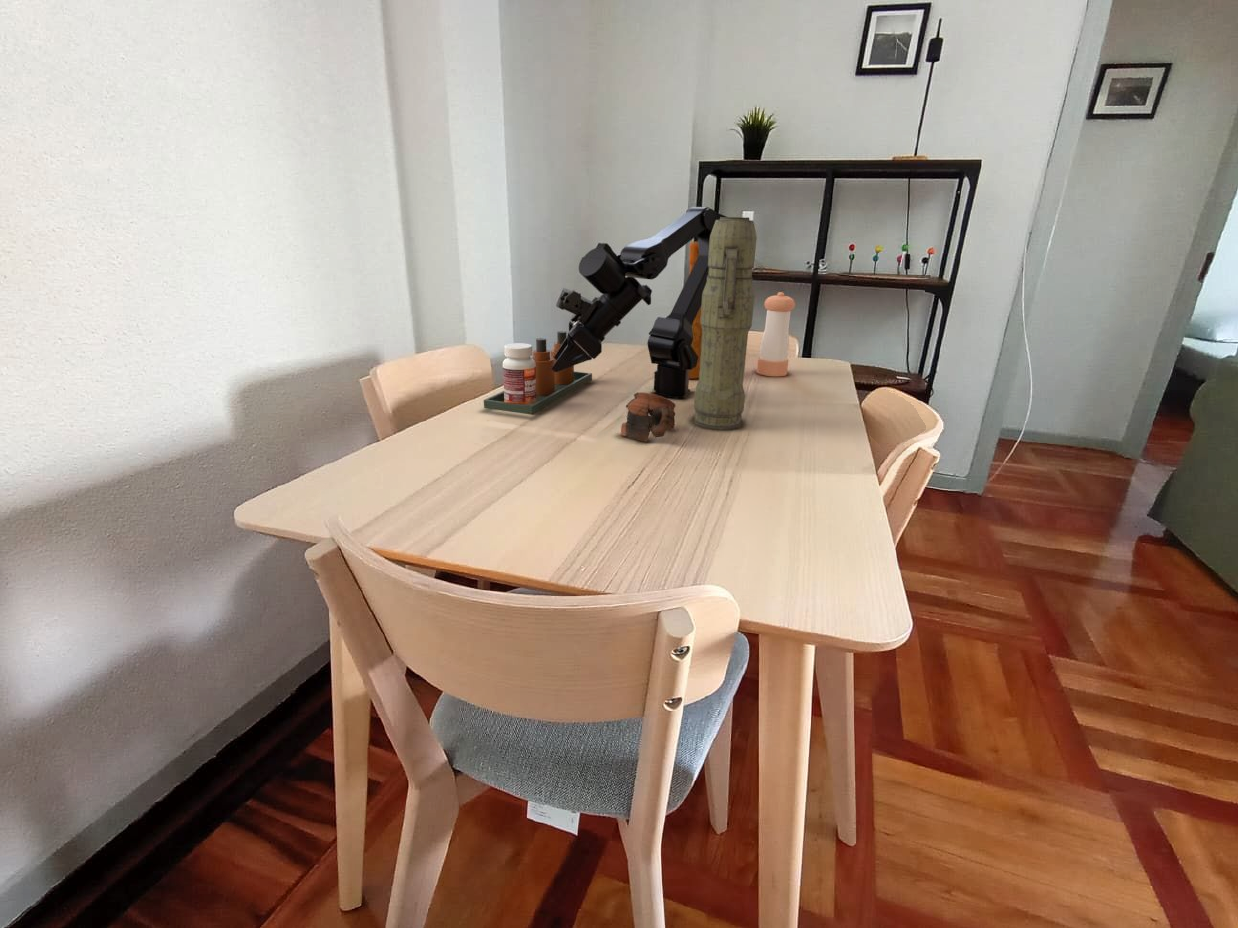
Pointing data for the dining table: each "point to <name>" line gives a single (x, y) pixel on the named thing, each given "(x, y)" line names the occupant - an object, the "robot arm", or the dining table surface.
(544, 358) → the amber bottle middle
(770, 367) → the pepper shaker
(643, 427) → the brown rough arched piece
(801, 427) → the dining table surface
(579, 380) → the tray
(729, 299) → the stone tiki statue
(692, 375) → the wine bottle
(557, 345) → the amber bottle end
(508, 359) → the pill bottle
